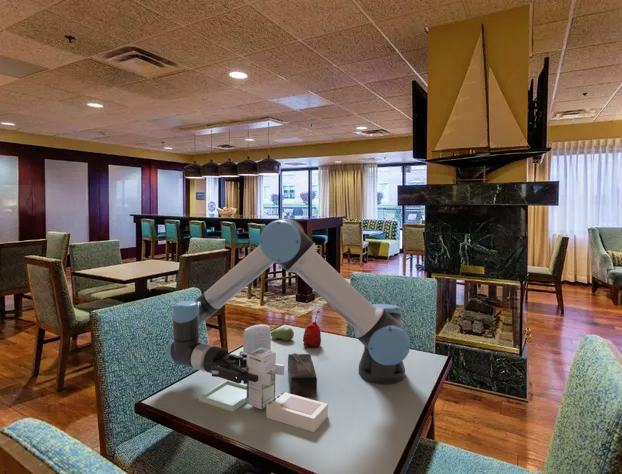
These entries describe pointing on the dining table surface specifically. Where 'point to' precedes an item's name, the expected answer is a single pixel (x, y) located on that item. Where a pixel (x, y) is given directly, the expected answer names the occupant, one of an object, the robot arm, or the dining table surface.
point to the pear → (283, 334)
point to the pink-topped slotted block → (297, 411)
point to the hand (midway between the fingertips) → (276, 375)
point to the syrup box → (262, 363)
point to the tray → (226, 395)
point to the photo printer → (256, 338)
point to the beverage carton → (302, 375)
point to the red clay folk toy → (312, 334)
